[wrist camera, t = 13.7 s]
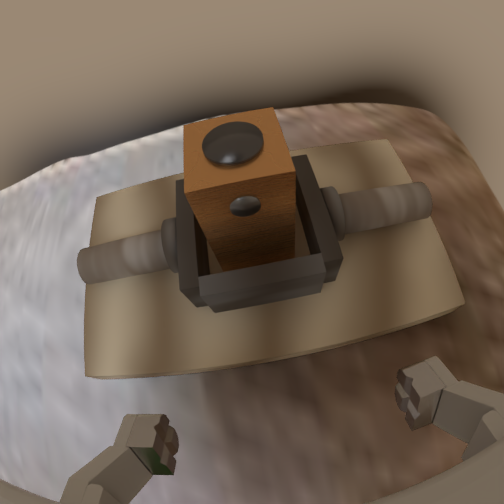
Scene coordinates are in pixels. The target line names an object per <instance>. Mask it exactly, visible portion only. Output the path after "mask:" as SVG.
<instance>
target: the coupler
mask: <svg viewBox="0 0 504 504" xmlns="http://www.w3.org/2000/svg"><path fill="white" fill-rule="evenodd" d="M184 194H185V196H186V198H187V200H188V202H189V204H190V206H191V208H192V210H193V212H194V214H195V216H196V218H197V220H198V222H199V224H200V226H201V228H202V231H203V233H204V235H205V237H206V239H207V241H208V243H209V245H210V247H211V249H212V250H213V252H214V254H215V256H216V258H217V260H218V262H219V264H220V266H221V268H222V270H223V272H227V271H232V270H237V269H242V268H248V267H253V266H258V265H263V264H268V263H273V262H278V261H283V260H288V259H293V258H295V214H296V170H295V167H294V165H293V162H292V159H291V156H290V153H289V150H288V147H287V144H286V142H285V139H284V136H283V133H282V130H281V128H280V125H279V122H278V120H277V117H276V114H275V112H274V109H273V108H272V107H271V108H265V109H259V110H253V111H247V112H242V113H237V114H232V115H227V116H222V117H217V118H213V119H208V120H204V121H200V122H195V123H191V124H187V125H184Z"/></svg>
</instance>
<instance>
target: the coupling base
mask: <svg viewBox="0 0 504 504" xmlns="http://www.w3.org/2000/svg"><path fill="white" fill-rule="evenodd" d="M289 153H290V156H291V159H292V162H293V165H294V167H295V170H296V214H295V258H293V259H288V260H283V261H278V262H273V263H268V264H263V265H258V266H253V267H248V268H242V269H237V270H232V271H227V272H223V270H222V268H221V266H220V264H219V262H218V260H217V258H216V256H215V254H214V252H213V250H212V249H211V247H210V245H209V243H208V241H207V239H206V237H205V235H204V233H203V231H202V228H201V226H200V224H199V222H198V220H197V218H196V216H195V214H194V212H193V210H192V208H191V206H190V204H189V202H188V200H187V198H186V196H185V194H184V173H180V174H176V175H172V176H168V177H165V178H161V179H157V180H153V181H150V182H146V183H142V184H139V185H135V186H132V187H128V188H125V189H122V190H118V191H115V192H112V193H109V194H105V195H102V196H99V197H97V199H96V204H95V210H94V217H93V223H92V230H91V238H90V246H89V247H88V248H84V249H81V250H80V252H79V253H78V257H77V267H78V271H79V274H80V277H81V278H82V280H83V281H84V282H85V283H86V292H85V314H84V360H85V376H87V377H92V378H97V379H127V378H145V377H159V376H170V375H181V374H190V373H199V372H208V371H215V370H223V369H230V368H236V367H243V366H249V365H255V364H261V363H267V362H272V361H277V360H283V359H288V358H293V357H298V356H302V355H307V354H311V353H316V352H320V351H325V350H329V349H333V348H337V347H341V346H345V345H349V344H353V343H357V342H360V341H364V340H368V339H371V338H375V337H378V336H382V335H385V334H388V333H392V332H395V331H398V330H401V329H405V328H408V327H411V326H414V325H417V324H420V323H423V322H426V321H429V320H431V319H434V318H437V317H440V316H443V315H445V314H448V313H451V312H453V311H454V310H456V309H457V308H459V307H460V306H462V305H463V304H465V300H464V297H463V294H462V291H461V288H460V286H459V283H458V280H457V277H456V275H455V272H454V269H453V267H452V264H451V262H450V259H449V257H448V254H447V252H446V250H445V247H444V245H443V243H442V240H441V238H440V236H439V233H438V231H437V229H436V227H435V225H434V223H433V220H432V218H431V216H430V214H431V212H432V198H431V194H430V191H429V189H428V188H427V186H426V185H425V184H424V183H422V182H415V183H413V181H412V179H411V178H410V176H409V174H408V172H407V171H406V169H405V167H404V165H403V164H402V162H401V160H400V159H399V157H398V155H397V154H396V152H395V150H394V149H393V147H392V145H391V144H390V142H389V141H388V139H381V140H371V141H361V142H351V143H343V144H335V145H327V146H320V147H313V148H306V149H299V150H293V151H289Z"/></svg>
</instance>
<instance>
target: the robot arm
mask: <svg viewBox="0 0 504 504" xmlns="http://www.w3.org/2000/svg"><path fill="white" fill-rule="evenodd" d="M397 379H398V381H399V383H398V384H397V385H396V387H395V398H396V402H397V405H398V407H399V409H400V410H401V411H404V412H406V415H405V420H406V421H407V423H408V425H409V427H410V429H411V430H412V431H413V430H416V429H418V428H421V427H424V426H426V425H428V424H431V423H432V424H433V425H435V426H437V427H439V428H440V429H442V430H444V431H446V432H448V433H449V434H451V435H453V436H455V437H457V438H458V439H460V440H462V441H464V442H466V443H468V446H467V448H466V449H465V451H464V453H463V455H462V457H461V458H462V460H463V462H461V463H460V464H458V465H456V466H454V467H452V468H450V469H448V470H446V471H444V472H442V473H440V474H438V475H436V476H434V477H432V478H430V479H428V480H425V481H423V482H421V483H419V484H416V485H414V486H412V487H409V488H407V489H404V490H402V491H399V492H397V493H394V494H391V495H388V496H386V497H383V498H380V499H377V500H374V501H371V502H368V503H364V504H504V394H503V393H500V392H497V391H493V390H490V389H487V388H484V387H481V386H478V385H475V384H472V383H468V382H465V381H462V380H461V381H459V382H458V380H457V379H456V378H455V377H454V376H453V374H452V373H451V372H450V371H449V370H448V368H447V367H446V366H445V365H444V364H443V363H442V361H441V360H440V359H439V358H438V357H437V356H433V357H431V358H428V359H426V360H423V361H421V362H418V363H415V364H413V365H410V366H407V367H405V368H402V369H399V370H398V372H397ZM178 448H179V441H178V436H177V433H176V431H175V429H174V428H173V427H171V426H169V419H168V418H167V416H166V415H164V414H127V415H126V416H125V417H124V418H123V421H122V424H121V426H120V429H119V432H118V434H117V437H116V440H115V442H114V445H113V446H109V447H108V448H107V449H105V450H104V451H103V452H102V453H100V454H99V455H98V456H97V457H95V458H94V459H93V460H92V461H90V462H89V463H88V464H86V465H85V466H84V467H83V468H81V469H80V470H79V471H77V472H76V473H75V474H73V475H72V476H71V477H69V479H68V482H67V484H66V487H65V489H64V492H63V494H62V497H61V499H60V502H56V501H53V500H50V499H47V498H44V497H42V496H39V495H36V494H34V493H31V492H29V491H26V490H24V489H22V488H19V487H17V486H15V485H12V484H10V483H8V482H6V481H4V480H2V479H0V504H129V503H130V501H131V500H132V499H133V498H134V497H135V496H136V495H137V494H138V492H139V491H140V490H141V489H142V488H143V487H144V486H145V484H146V483H147V482H148V481H149V480H150V479H151V477H152V476H153V475H174V471H175V466H176V460H175V458H174V457H173V456H174V455H175V454H176V453H177V452H178Z"/></svg>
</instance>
